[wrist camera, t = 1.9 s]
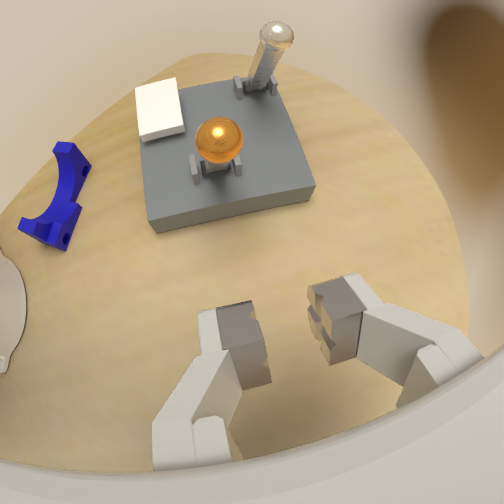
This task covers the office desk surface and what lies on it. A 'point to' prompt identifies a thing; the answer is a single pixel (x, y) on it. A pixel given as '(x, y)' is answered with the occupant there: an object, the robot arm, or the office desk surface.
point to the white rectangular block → (159, 110)
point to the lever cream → (268, 55)
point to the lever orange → (218, 144)
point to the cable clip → (61, 200)
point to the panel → (242, 166)
